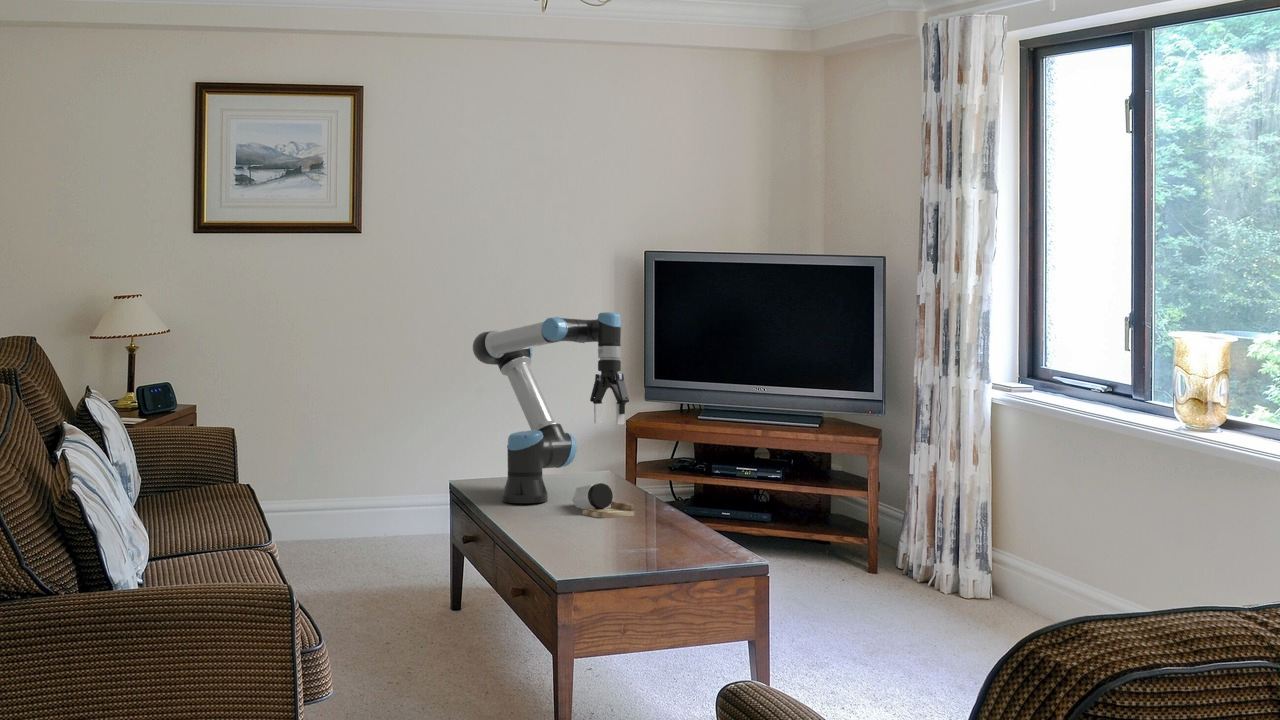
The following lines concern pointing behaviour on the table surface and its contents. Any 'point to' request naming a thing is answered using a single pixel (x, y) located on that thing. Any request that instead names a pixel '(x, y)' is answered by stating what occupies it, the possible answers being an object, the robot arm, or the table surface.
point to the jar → (593, 496)
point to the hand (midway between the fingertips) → (609, 423)
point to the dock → (611, 511)
